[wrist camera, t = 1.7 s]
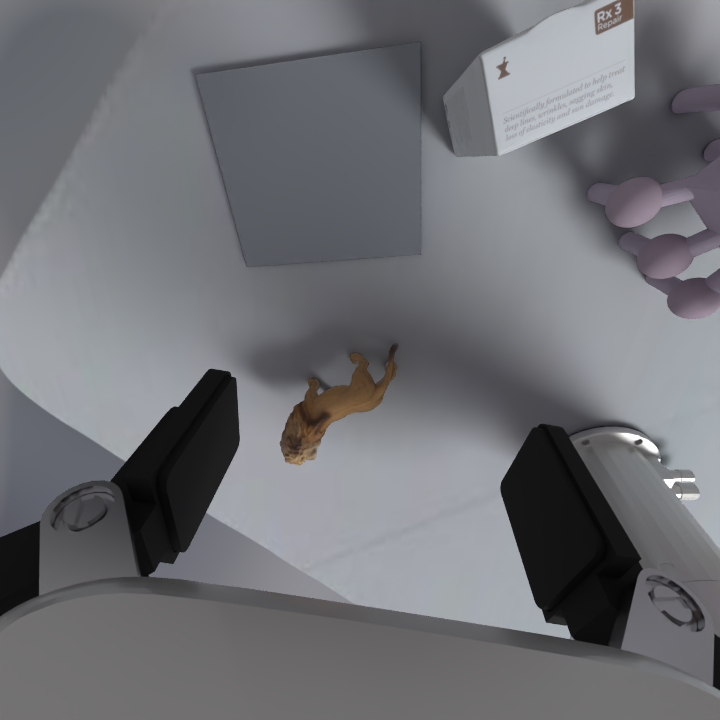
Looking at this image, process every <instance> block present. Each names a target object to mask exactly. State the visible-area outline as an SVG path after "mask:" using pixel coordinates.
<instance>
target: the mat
mask: <svg viewBox="0 0 720 720" xmlns="http://www.w3.org/2000/svg"><path fill="white" fill-rule="evenodd" d="M196 79H197V83H198V87H199V90H200V94H201V98H202V101H203V105H204V109H205V113H206V116H207V120H208V124H209V128H210V131H211V135H212V139H213V142H214V146H215V150H216V154H217V157H218V161H219V165H220V169H221V172H222V176H223V180H224V184H225V187H226V191H227V195H228V198H229V202H230V206H231V210H232V213H233V217H234V221H235V225H236V228H237V232H238V236H239V239H240V243H241V247H242V251H243V254H244V258H245V262H246V266H247V267H256V266H269V265H283V264H297V263H311V262H325V261H339V260H352V259H366V258H380V257H394V256H408V255H421V42H415V43H408V44H402V45H395V46H388V47H381V48H374V49H368V50H361V51H354V52H347V53H340V54H334V55H327V56H320V57H313V58H306V59H299V60H293V61H286V62H279V63H272V64H265V65H259V66H252V67H245V68H238V69H231V70H224V71H218V72H211V73H204V74H197V75H196Z"/></svg>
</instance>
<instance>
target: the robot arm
mask: <svg viewBox="0 0 720 720" xmlns="http://www.w3.org/2000/svg"><path fill="white" fill-rule="evenodd" d="M239 441H240V435H239V418H238V400H237V383H236V378H235V377H231V374H230V372H228V371H222V370H216V369H209V370H208V371H207V372H206V373H205V375H204V376H203V377H202V378H201V380H200V381H199V382H198V383H197V385H196V386H195V387H194V388H193V390H192V391H191V392H190V393H189V395H188V396H187V397H186V398H185V400H184V401H183V402H182V403H181V405H180V406H179V407H173V408H171V409H170V410H169V411H168V412H167V413H166V414H165V415H164V417H163V418H162V419H161V420H160V422H159V423H158V424H157V425H156V426H155V428H154V429H153V430H152V431H151V432H150V434H149V435H148V436H147V437H146V438H145V440H144V441H143V442H142V443H141V445H140V446H139V447H138V448H137V449H136V451H135V452H134V453H133V454H132V455H131V457H130V458H129V459H128V460H127V461H126V463H125V464H124V465H123V466H122V467H121V469H120V470H119V471H118V472H117V474H116V475H115V476H114V478H112V480H111V481H110V482H109V481H105V480H100V481H90V482H86V483H81V484H79V485H77V486H75V487H72V488H70V489H68V490H66V491H65V492H63V493H62V494H60V495H59V496H57V497H56V498H55V499H54V500H53V501H52V502H51V503H50V504H49V505H48V507H47V508H46V509H45V511H44V513H43V514H42V518H41V521H39V522H37V523H34V524H32V525H29V526H27V527H24V528H22V529H20V530H17V531H15V532H12V533H10V534H8V535H5V536H3V537H0V720H720V549H719V548H718V546H717V545H716V544H715V543H714V541H713V540H712V539H711V538H710V536H709V535H708V534H707V533H706V532H705V530H704V529H703V528H702V527H701V525H700V524H699V523H698V522H697V520H696V519H695V518H694V517H693V515H692V514H691V513H690V512H689V510H688V509H687V508H686V507H685V505H684V504H683V503H682V502H681V500H698V498H699V496H700V493H699V489H698V488H697V486H696V485H695V484H694V483H693V482H694V481H695V476H694V474H693V472H692V471H690V470H668V469H667V468H665V467H664V466H663V465H662V464H661V455H660V452H659V450H658V448H657V447H656V445H655V444H654V443H653V442H652V440H650V439H649V438H648V437H647V436H646V435H644V434H643V433H641V432H639V431H636V430H633V429H630V428H624V427H600V428H593V429H589V430H585V431H582V432H579V433H577V434H574V435H572V436H570V437H568V435H567V434H566V432H565V430H564V429H563V428H562V427H559V426H553V425H547V424H540V425H539V426H538V427H534V428H533V429H532V430H531V432H530V433H529V435H528V437H527V439H526V440H525V442H524V444H523V446H522V447H521V449H520V451H519V452H518V454H517V456H516V458H515V459H514V461H513V463H512V465H511V466H510V468H509V470H508V471H507V473H506V475H505V477H504V478H503V480H502V482H501V488H500V489H501V495H502V498H503V501H504V504H505V507H506V511H507V514H508V517H509V520H510V523H511V527H512V530H513V533H514V536H515V539H516V543H517V546H518V549H519V552H520V555H521V559H522V562H523V565H524V568H525V571H526V575H527V578H528V581H529V584H530V587H531V591H532V594H533V597H534V600H535V603H536V605H537V606H538V607H539V608H540V609H542V611H543V614H544V617H545V621H546V623H552V624H559V625H565V626H566V625H567V626H568V629H569V631H570V634H571V636H570V639H565V638H559V637H554V636H548V635H542V634H536V633H530V632H524V631H518V630H512V629H505V628H499V627H493V626H487V625H481V624H474V623H468V622H462V621H456V620H450V619H443V618H437V617H431V616H424V615H418V614H411V613H405V612H399V611H392V610H386V609H379V608H373V607H367V606H360V605H354V604H347V603H340V602H334V601H327V600H321V599H314V598H307V597H301V596H295V595H288V594H281V593H275V592H268V591H261V590H255V589H248V588H241V587H234V586H225V585H219V584H211V583H203V582H196V581H188V580H181V579H168V578H156V577H151V576H150V574H151V573H153V572H154V571H155V570H156V568H157V566H158V564H159V563H160V562H164V563H170V564H173V563H174V562H175V560H176V558H177V556H178V554H179V552H185V551H186V550H187V549H188V547H189V545H190V543H191V541H192V539H193V537H194V535H195V533H196V531H197V529H198V527H199V525H200V523H201V521H202V519H203V517H204V515H205V513H206V511H207V509H208V507H209V505H210V503H211V501H212V499H213V497H214V495H215V493H216V491H217V489H218V487H219V485H220V483H221V481H222V479H223V477H224V475H225V473H226V471H227V469H228V467H229V465H230V463H231V461H232V459H233V457H234V455H235V453H236V451H237V449H238V446H239Z"/></svg>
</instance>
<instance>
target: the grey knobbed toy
mask: <svg viewBox="0 0 720 720" xmlns="http://www.w3.org/2000/svg"><path fill="white" fill-rule="evenodd" d="M716 110H720V84H716V85H710V86H703V87H697V88H690V89H685V90H682V91H681V92H679V93H678V94H677V95H676V97H675V98H674V100H673V102H672V111H673V112H674V113H677V114H679V113H691V112H703V111H716ZM704 158H705V160H707V161H712V162H711V163H710V164H709V165H707V166H706V167H705V168H703V169H702V170H701V171H700V172H698V173H697V174H696V175H693V176H689V177H685V178H682V179H678V180H675V181H671V182H668V183H664V184H660V183H658V182H657V181H656V180H654V179H652V178H648V177H636V178H632V179H629V180H626V181H624V182H623V183H621V184H620V185H618V186H616V185H611V184H605V183H596V184H593V185H592V186H591V187H590V188H589V189H588V192H587V198H588V199H589V200H590V201H592V202H595V203H599V204H602V205H605V212H606V216H607V218H608V219H609V220H610V222H611V223H613V224H614V225H616V226H619V227H625V228H629V227H636V226H639V225H641V224H644V223H646V222H647V221H649V220H650V219H652V218H653V217H654V216H655V215H656V214H657V212H658V211H659V210H660V208H661V207H664V206H668V205H672V204H676V203H680V202H684V201H688V200H689V201H690V202H691V204H692V206H693V207H694V209H695V210H696V212H697V213H698V215H699V216H700V218H701V220H702V221H703V223H704V224H705V226H706V227H707V229H706V230H703V231H701V232H699V233H697V234H694V235H692V236H690V237H688V238H686V237H684V236H681V235H677V234H664V235H660V236H657V237H655V238H653V239H648V238H646V237H643V236H641V235H638V234H636V233H633V232H629V233H625V234H624V235H622V236H621V237H620V239H619V241H618V245H619V247H620V248H622V249H624V250H626V251H628V252H630V253H632V254H634V255H636V256H637V265H638V268H639V269H640V271H641V272H642V273H643V274H645V275H646V278H645V280H646V282H647V283H648V284H650V285H652V286H653V287H655V288H657V289H658V290H660V291H662V292H663V293H665V294H666V295H668V298H667V304H668V307H669V309H670V310H671V311H672V313H674V314H675V315H677V316H679V317H681V318H685V319H699V318H703V317H706V316H709V315H711V314H712V313H714V312H715V311H717V310H718V309H719V307H720V269H718V270H717V271H716V272H714V273H713V274H712V275H710V276H709V277H707V278H691V279H687V280H685V281H682V280H680V279H678V278H676V277H674V276H676V275H678V274H680V273H681V272H683V271H684V270H685V269H686V268H688V266H689V265H690V264H691V262H692V260H693V258H694V257H695V256H698V255H700V254H703V253H705V252H707V251H710V250H712V249H715V248H717V247H720V139H717V140H714V141H712V142H711V143H710V144H709V145H708V146H707V148H706V150H705V152H704Z"/></svg>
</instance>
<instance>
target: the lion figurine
mask: <svg viewBox="0 0 720 720" xmlns="http://www.w3.org/2000/svg"><path fill="white" fill-rule="evenodd" d="M397 348H398V344H397V343H395V344H394V345H393V346H392V347H391V349H390V351H389V358H388V363H386V364H385V371H386V373H385V376H384V377H383V378H382V379H381V380H380V381H379V382H377V383H376V384H375V383H374V381H373V379H372V377H371V375H370V374H369V372H368V370H367V367H368V364H369V362H368V361H367V360H366V359H365V358H364V357H362V356H361V355H360V354H359V353H352V354H351V355H350V360H351V362H352V363H354V364H355V363H359V364H358V367H357V368H356V370H355V372H354V373H353V375H352V380H351V384H350V385H349V386H347V385H341V386H335V387H332V388H330V389H328V390H326V391H325V392H323V393H322V394H320V395H318V393H317V390H318V388H319V386H320V384H319V382H318V380H316V379H309V382H308V384H309V387H310V388H309V390H308V391H307V392H306V394H305V400H304V401H303V402H300V403H299V404H297V405H295V406H294V409H293V412H292V413H291V414H290V416H289V417H288V420H287V422H286V425H285V430H284V431H283V433H282V439H281V441H280V446H281V450H282V453H283V455H284V457H285V462H286V463H287V462H289V463H290V464H298V465H301V464H302V463H303V462H305V460H306V459H307V460H314V459H315V458H316V454H317V447H318V446H319V445H320V443H321V438H322V437H323V436H324V434H325V431H326V428H327V427H328V426H329V425H330V423H332V422H334V421H337V420H339V419H341V418H344V417H345V416H347V415H349V414H351V413H354V412H366V411H370V410H372V409H374V408H375V407H376V406H378V405H379V404H380V403H381V401H382V399H383V396H384V392H385V390H386V388H387V386H388V384H389V382H390V381H391V380H392V379H393V378H394V377H395V375H396V369H397V366H396V364H395V363H394V362H393V358H394V354H395V352H396V350H397Z"/></svg>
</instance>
